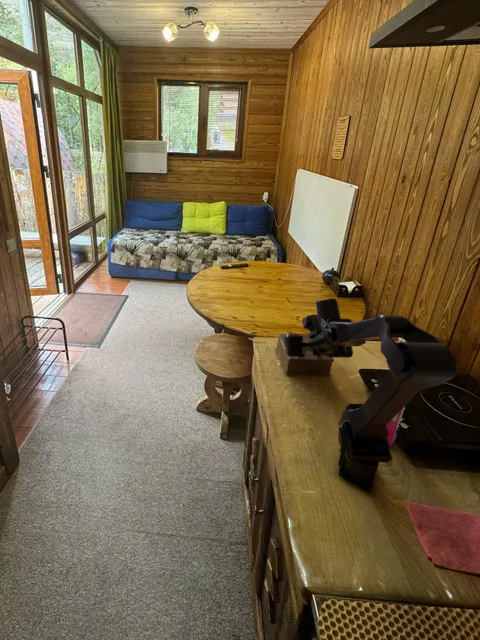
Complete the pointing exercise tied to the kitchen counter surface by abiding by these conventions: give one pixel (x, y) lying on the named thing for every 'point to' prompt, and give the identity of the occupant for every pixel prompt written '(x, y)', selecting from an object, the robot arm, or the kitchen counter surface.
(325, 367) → the chest
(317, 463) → the kitchen counter surface
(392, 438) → the supplement box
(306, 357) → the lid
